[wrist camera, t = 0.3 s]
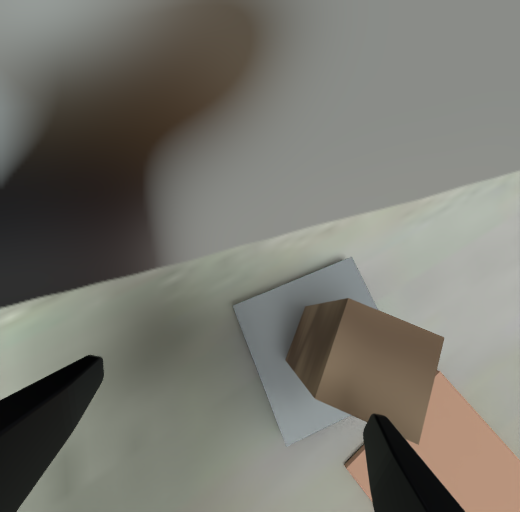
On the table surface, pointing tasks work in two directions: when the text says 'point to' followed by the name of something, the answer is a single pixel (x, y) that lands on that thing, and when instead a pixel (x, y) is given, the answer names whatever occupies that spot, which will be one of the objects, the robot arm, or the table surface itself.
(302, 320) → the walnut block
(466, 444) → the terracotta mat
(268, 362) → the grey ledge
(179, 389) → the table surface
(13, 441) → the robot arm
